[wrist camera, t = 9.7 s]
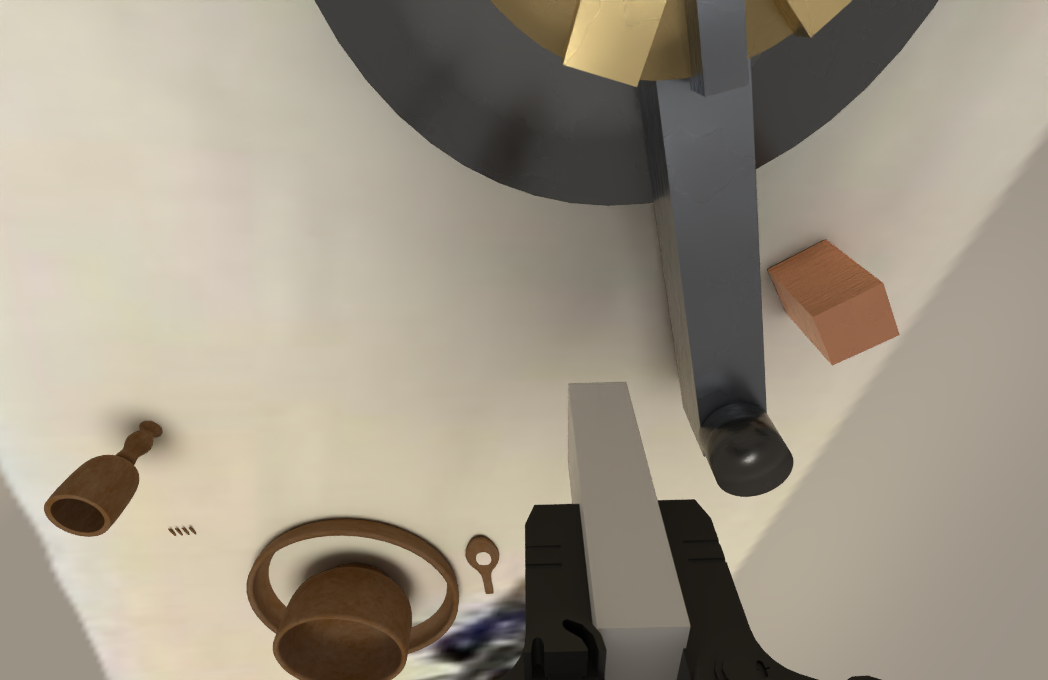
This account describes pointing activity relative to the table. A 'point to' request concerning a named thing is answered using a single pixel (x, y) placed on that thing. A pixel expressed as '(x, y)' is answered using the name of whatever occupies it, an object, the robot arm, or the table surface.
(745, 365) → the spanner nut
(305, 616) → the place setting
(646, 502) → the robot arm
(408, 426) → the table surface
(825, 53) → the base
